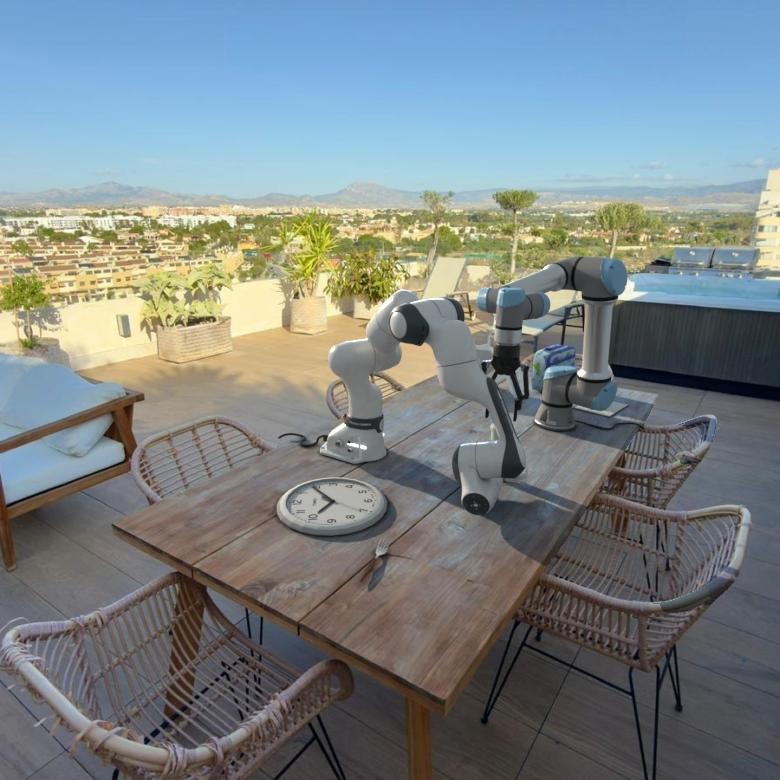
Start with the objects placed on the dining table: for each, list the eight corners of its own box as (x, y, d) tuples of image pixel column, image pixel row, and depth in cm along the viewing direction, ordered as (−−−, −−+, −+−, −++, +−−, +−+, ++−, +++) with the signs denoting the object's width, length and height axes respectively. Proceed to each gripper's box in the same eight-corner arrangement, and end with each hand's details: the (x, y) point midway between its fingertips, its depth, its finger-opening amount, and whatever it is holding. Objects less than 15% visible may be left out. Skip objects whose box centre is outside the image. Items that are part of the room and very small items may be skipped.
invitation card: (608, 416, 214) (573, 407, 224) (608, 416, 214) (573, 408, 224) (628, 404, 229) (594, 396, 238) (628, 405, 229) (594, 397, 238)
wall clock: (392, 527, 129) (268, 531, 127) (391, 533, 130) (269, 537, 127) (383, 473, 158) (282, 475, 155) (383, 478, 158) (282, 480, 156)
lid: (510, 428, 159) (510, 423, 158) (508, 435, 154) (508, 430, 153) (491, 426, 160) (492, 421, 160) (488, 432, 155) (489, 427, 155)
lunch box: (547, 397, 237) (552, 352, 231) (526, 391, 245) (531, 348, 238) (574, 386, 255) (580, 344, 249) (554, 381, 262) (559, 340, 256)
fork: (354, 582, 112) (354, 574, 111) (381, 542, 126) (381, 535, 125) (365, 585, 111) (365, 577, 110) (391, 545, 125) (391, 537, 125)
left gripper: (526, 474, 141) (532, 454, 153) (452, 461, 148) (464, 443, 160) (524, 495, 143) (530, 474, 155) (451, 481, 150) (462, 462, 162)
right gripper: (545, 343, 149) (537, 418, 156) (474, 337, 155) (469, 410, 162) (543, 348, 142) (535, 427, 149) (469, 342, 149) (464, 417, 156)
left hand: (496, 458), depth 158 cm, fingers open, 8 cm apart
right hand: (500, 418), depth 156 cm, fingers open, 7 cm apart
